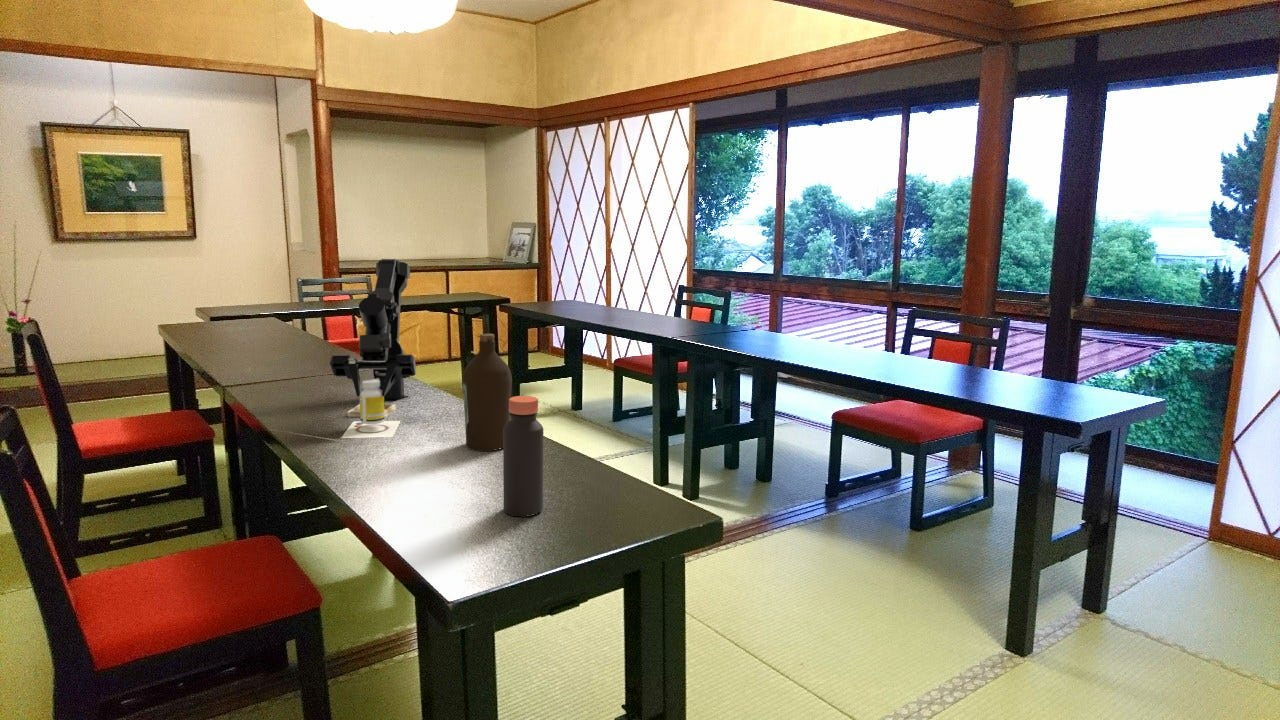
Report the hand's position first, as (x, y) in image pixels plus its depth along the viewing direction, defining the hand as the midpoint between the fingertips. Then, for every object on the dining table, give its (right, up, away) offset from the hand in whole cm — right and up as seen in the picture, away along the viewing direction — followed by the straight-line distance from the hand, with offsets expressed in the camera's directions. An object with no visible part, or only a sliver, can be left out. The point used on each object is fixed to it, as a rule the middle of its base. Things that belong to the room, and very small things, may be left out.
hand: (370, 395), depth 174 cm
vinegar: (+42, -18, -43) cm, 63 cm away
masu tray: (-5, -5, +16) cm, 18 cm away
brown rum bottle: (+28, -11, -7) cm, 31 cm away
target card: (0, -8, +2) cm, 9 cm away
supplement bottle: (0, -6, +3) cm, 7 cm away
